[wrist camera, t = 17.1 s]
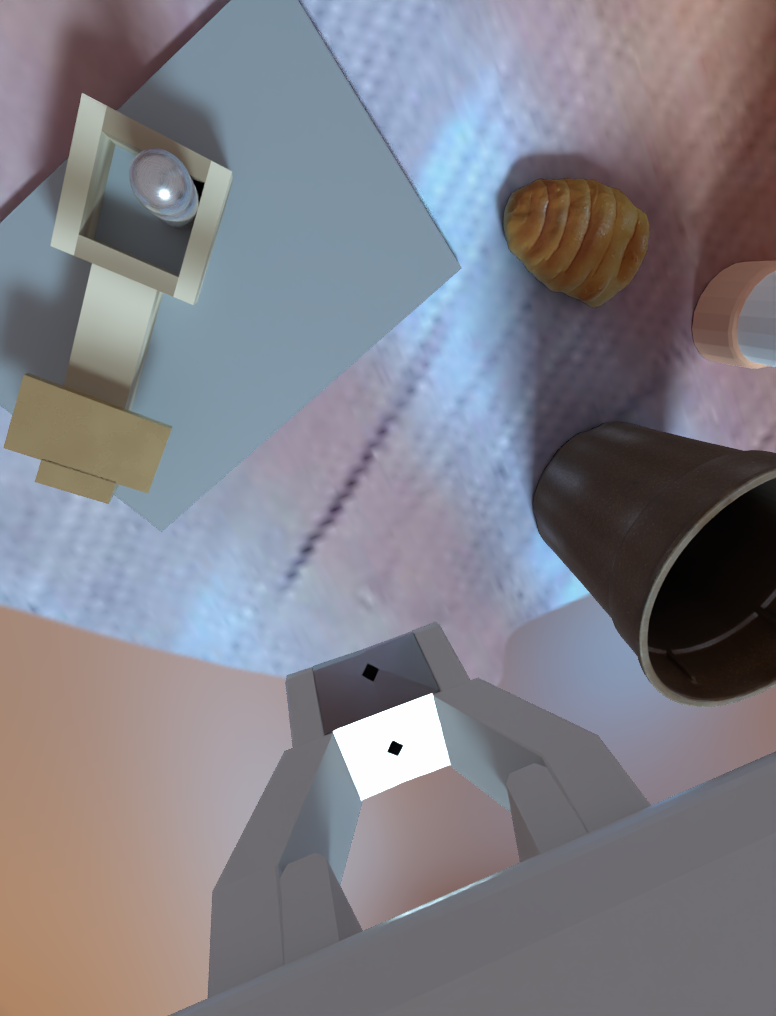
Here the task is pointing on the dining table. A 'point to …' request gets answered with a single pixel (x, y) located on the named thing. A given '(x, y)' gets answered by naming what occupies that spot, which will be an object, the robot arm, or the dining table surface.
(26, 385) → the block
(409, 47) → the dining table surface
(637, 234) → the pastry
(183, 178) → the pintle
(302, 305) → the board
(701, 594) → the plant pot
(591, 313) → the dining table surface
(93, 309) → the link
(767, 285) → the salt shaker
